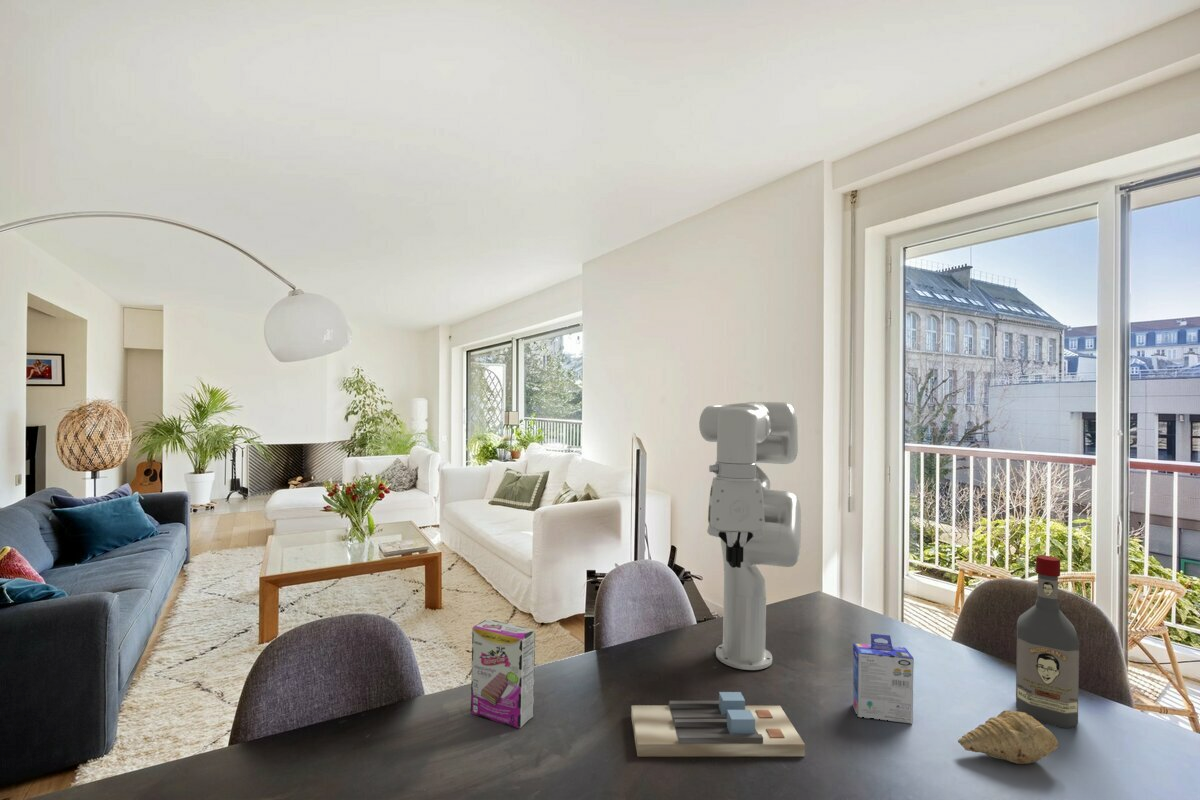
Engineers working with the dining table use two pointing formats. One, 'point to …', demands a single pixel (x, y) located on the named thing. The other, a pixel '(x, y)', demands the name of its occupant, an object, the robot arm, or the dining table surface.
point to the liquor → (1047, 655)
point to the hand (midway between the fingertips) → (734, 565)
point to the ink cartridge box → (883, 681)
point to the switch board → (711, 731)
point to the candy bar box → (503, 672)
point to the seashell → (1011, 738)
